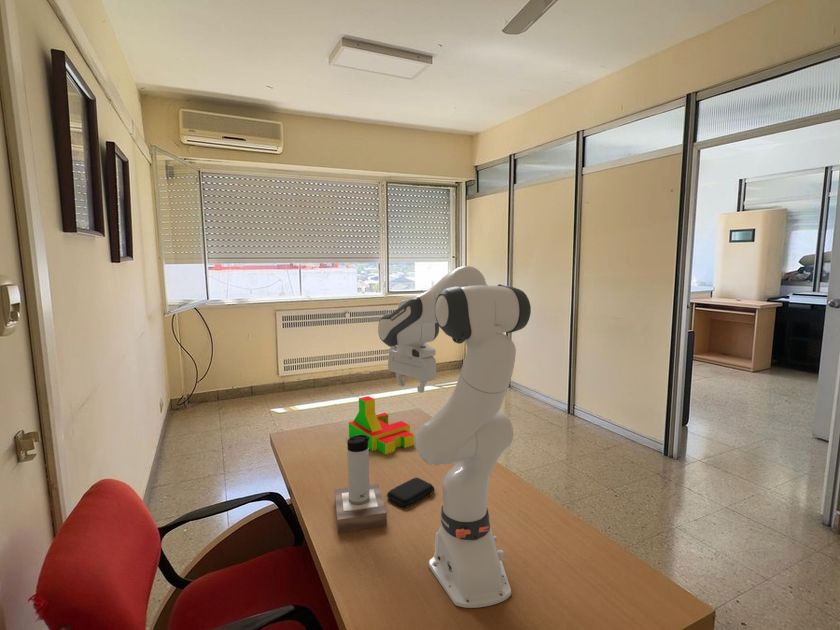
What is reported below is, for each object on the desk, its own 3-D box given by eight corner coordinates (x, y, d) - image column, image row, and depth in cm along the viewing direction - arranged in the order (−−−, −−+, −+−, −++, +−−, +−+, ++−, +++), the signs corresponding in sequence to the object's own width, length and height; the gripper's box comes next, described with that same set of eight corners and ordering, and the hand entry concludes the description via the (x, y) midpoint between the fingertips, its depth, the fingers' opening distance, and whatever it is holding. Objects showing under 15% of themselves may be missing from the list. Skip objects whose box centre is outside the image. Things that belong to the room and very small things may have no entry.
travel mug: (367, 506, 130) (365, 442, 127) (345, 504, 131) (343, 440, 129) (373, 495, 136) (371, 433, 133) (352, 493, 137) (351, 432, 135)
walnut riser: (386, 525, 128) (386, 512, 127) (337, 532, 125) (337, 519, 124) (378, 494, 144) (378, 482, 144) (335, 500, 141) (334, 488, 140)
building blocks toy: (380, 457, 172) (379, 412, 169) (349, 436, 191) (347, 396, 189) (418, 444, 183) (418, 402, 181) (385, 426, 203) (384, 388, 200)
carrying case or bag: (407, 512, 135) (439, 494, 145) (407, 503, 134) (439, 485, 145) (384, 499, 142) (416, 482, 152) (384, 490, 142) (416, 474, 152)
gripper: (383, 344, 149) (384, 384, 151) (425, 354, 134) (425, 397, 136) (397, 342, 154) (397, 380, 155) (439, 351, 139) (439, 393, 141)
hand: (411, 388), depth 146 cm, fingers open, 8 cm apart
